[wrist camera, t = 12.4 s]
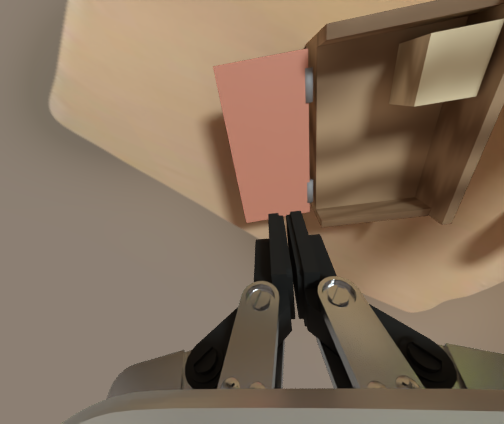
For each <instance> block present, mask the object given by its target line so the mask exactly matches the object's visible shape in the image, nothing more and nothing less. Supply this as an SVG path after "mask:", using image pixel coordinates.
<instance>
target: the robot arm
mask: <svg viewBox="0 0 504 424" xmlns="http://www.w3.org/2000/svg"><path fill="white" fill-rule="evenodd" d="M268 221H269V239H259V240H256V245H255V269H254V283H251V284H250V285H248V286H247V287H246V288H245V289H244V291H243V293H242V296H241V299H240V303H239V307H238V308H237V309H235V310H234V311H233V312H232V313H231V314H230V315H229V316H228V317H227V318H226V319H224V320H223V321H222V322H221V323H220V324H219V325H218V326H217V327H216V328H215V329H214V330H212V331H211V332H210V333H209V334H208V335H207V336H206V337H205V338H204V339H203V340H201V341H200V342H199V343H198V344H197V345H196V346H195V347H194V349H193V350H191V351H187V352H185V351H184V350H182V351H178V352H175V353H171V354H168V355H165V356H162V357H158V358H155V359H151V360H148V361H144V362H141V363H137V364H134V365H132V366H130V367H128V368H126V369H125V370H124V371H123V372H122V373H120V374H119V375H118V377H117V378H116V380H115V381H114V382H113V384H112V386H111V388H110V390H109V393H108V396H107V399H106V400H103V401H101V402H99V403H96V404H94V405H91V406H89V407H88V408H86V409H84V410H82V411H80V412H78V413H76V414H75V415H73V416H71V417H70V418H68V419H67V420H65V421H64V422H62V423H61V424H504V354H501V353H495V352H490V351H485V350H479V349H474V348H469V347H464V346H458V345H453V344H448V343H446V344H445V346H442V345H437V344H436V343H435V342H433V341H432V340H430V339H429V338H427V337H425V336H424V335H422V334H420V333H418V332H417V331H415V330H413V329H412V328H410V327H408V326H406V325H404V324H403V323H401V322H399V321H398V320H396V319H394V318H392V317H391V316H389V315H387V314H386V313H384V312H382V311H380V310H379V309H377V308H375V307H373V306H372V305H370V304H368V302H367V301H366V299H365V298H364V296H363V295H362V293H361V292H360V290H359V289H358V288H357V287H356V285H355V284H354V283H352V282H351V281H349V280H347V279H345V278H343V277H337V276H336V273H335V271H334V268H333V266H332V263H331V261H330V258H329V256H328V253H327V251H326V248H325V245H324V243H323V240H322V238H321V236H320V234H316V235H308V232H307V229H306V225H305V222H304V219H303V216H302V213H301V211H291V212H290V214H289V215H286V222H287V236H288V243H287V237H286V231H285V225H284V219H283V215H279V213H272V214H268ZM293 285H294V291H295V297H296V303H297V309H298V315H299V319H304V323H305V326H307V329H308V331H309V332H311V333H312V334H313V335H314V336H316V339H317V343H318V346H319V349H320V351H321V354H322V357H323V360H324V363H325V365H326V368H327V371H328V374H329V376H330V379H331V382H332V385H333V387H334V389H282V388H283V368H284V347H285V346H284V345H285V338H286V337H287V336H288V335H289V333H290V332H291V331H292V326H291V319H295V307H294V291H293Z"/></svg>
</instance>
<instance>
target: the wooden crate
mask: <svg viewBox="0 0 504 424" xmlns="http://www.w3.org/2000/svg"><path fill="white" fill-rule="evenodd" d="M500 19H504V0H435V1H430V2H426V3H421V4H417V5H412V6H407V7H403V8H398V9H393V10H389V11H384V12H380V13H375V14H370V15H366V16H361V17H356V18H352V19H347V20H343V21H338V22H333V23H329V24H326V25H325V26H324V27H323V28H322V29H321V30H320V31H319V32H318V33H317V34H316V35H315V36H314V37H313V38H312V39H311V40H310V41H309V42H308V43H307V44H306V49H307V48H308V68H310V67H313V102H311V103H309V176H310V179H312V180H313V202H311V203H310V204H311V206H312V208H313V210H314V212H315V214H316V216H317V219H318V221H319V223H320V225H321V227H330V226H339V225H348V224H357V223H366V222H375V221H383V220H392V219H401V218H410V217H419V216H428V215H429V216H431V217H432V218H433V219H435V220H436V221H438V222H439V223H440V224H442V225H443V224H451V223H452V221H453V219H454V216H455V214H456V212H457V210H458V207H459V205H460V203H461V200H462V198H463V196H464V194H465V191H466V189H467V187H468V184H469V182H470V180H471V178H472V175H473V173H474V171H475V168H476V166H477V164H478V162H479V159H480V157H481V155H482V152H483V150H484V148H485V146H486V143H487V141H488V139H489V136H490V134H491V132H492V130H493V127H494V125H495V123H496V120H497V118H498V116H499V114H500V111H501V109H502V107H503V104H504V23H503V25H502V28H501V31H500V33H499V36H498V39H497V42H496V44H495V47H494V50H493V52H492V55H491V58H490V61H489V63H488V66H487V69H486V71H485V74H484V77H483V80H482V82H481V85H480V88H479V90H478V93H477V96H475V97H469V98H463V99H457V100H451V101H445V102H439V103H433V104H427V105H421V106H415V107H412V106H402V105H393V104H389V100H390V94H391V89H392V83H393V77H394V71H395V65H396V60H397V54H398V48H399V44H400V43H403V42H406V41H409V40H412V39H415V38H418V37H421V36H424V35H427V34H430V33H435V32H440V31H445V30H450V29H455V28H460V27H465V26H470V25H475V24H480V23H485V22H490V21H495V20H500Z"/></svg>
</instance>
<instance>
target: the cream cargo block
mask: <svg viewBox="0 0 504 424" xmlns="http://www.w3.org/2000/svg"><path fill="white" fill-rule="evenodd" d="M503 23H504V19H500V20H495V21H490V22H485V23H480V24H475V25H470V26H465V27H460V28H455V29H450V30H445V31H440V32H435V33H430V34H427V35H424V36H421V37H418V38H415V39H412V40H409V41H406V42H403V43H400V44H399V48H398V54H397V60H396V65H395V71H394V77H393V83H392V89H391V94H390V100H389V104H393V105H402V106H412V107H415V106H421V105H427V104H433V103H439V102H445V101H451V100H457V99H463V98H469V97H475V96H477V93H478V90H479V88H480V85H481V82H482V80H483V77H484V74H485V71H486V69H487V66H488V63H489V61H490V58H491V55H492V52H493V50H494V47H495V44H496V42H497V39H498V36H499V33H500V31H501V28H502V25H503Z"/></svg>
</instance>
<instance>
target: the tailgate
mask: <svg viewBox="0 0 504 424" xmlns="http://www.w3.org/2000/svg"><path fill="white" fill-rule="evenodd" d="M213 69H214V73H215V78H216V83H217V87H218V92H219V97H220V102H221V106H222V111H223V116H224V120H225V125H226V130H227V134H228V139H229V144H230V149H231V153H232V158H233V163H234V167H235V172H236V177H237V181H238V186H239V191H240V195H241V200H242V205H243V210H244V214H245V219H246V223H250V222H255V221H261V220H267V219H268V214H272V213H279V215H283V217H284V216H286V215H289V214H290V212H291V211H301V213H306V212H310V203H311V202H313V180H312V179H310V176H309V103H311V102H313V67H310V68H308V48H307V49H301V50H296V51H291V52H286V53H281V54H275V55H270V56H265V57H260V58H255V59H249V60H244V61H239V62H234V63H228V64H223V65H218V66H213Z"/></svg>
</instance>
